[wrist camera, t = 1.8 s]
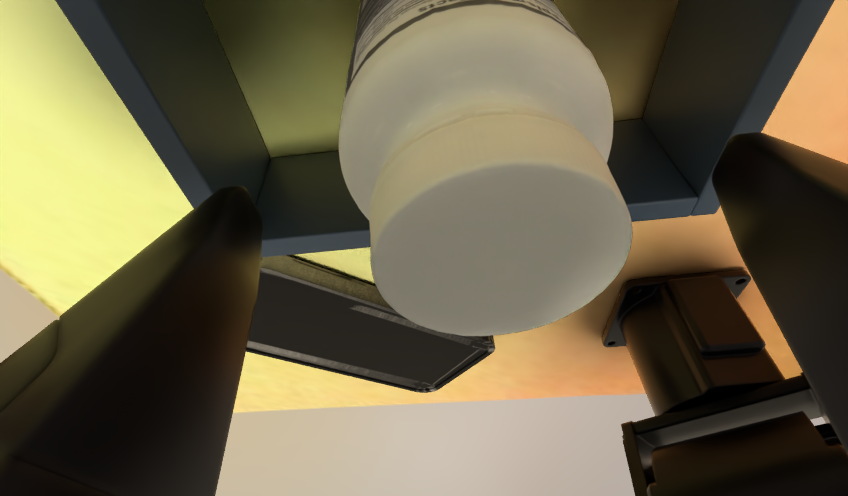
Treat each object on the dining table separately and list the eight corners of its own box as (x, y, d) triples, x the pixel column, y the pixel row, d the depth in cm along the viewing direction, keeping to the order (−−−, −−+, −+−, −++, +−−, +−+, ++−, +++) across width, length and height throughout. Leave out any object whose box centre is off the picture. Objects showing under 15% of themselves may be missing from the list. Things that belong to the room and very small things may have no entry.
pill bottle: (509, 112, 15) (594, 360, 9) (358, 100, 15) (328, 356, 8) (560, -70, 11) (784, 129, 5) (358, -96, 11) (298, 89, 4)
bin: (657, 134, 16) (716, 214, 13) (258, 176, 17) (228, 261, 14) (792, -248, 9) (985, -265, 6) (101, -152, 10) (-30, -124, 7)
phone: (430, 395, 30) (203, 341, 23) (429, 380, 31) (209, 324, 24) (504, 344, 25) (246, 260, 19) (501, 328, 26) (252, 242, 19)
